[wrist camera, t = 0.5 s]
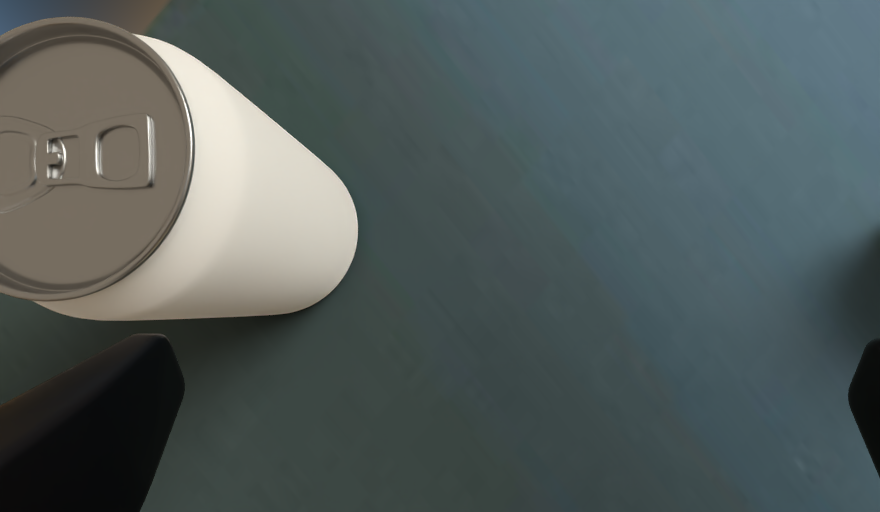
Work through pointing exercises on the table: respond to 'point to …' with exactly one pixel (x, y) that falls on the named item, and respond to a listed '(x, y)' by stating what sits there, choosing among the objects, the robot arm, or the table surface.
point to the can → (154, 185)
